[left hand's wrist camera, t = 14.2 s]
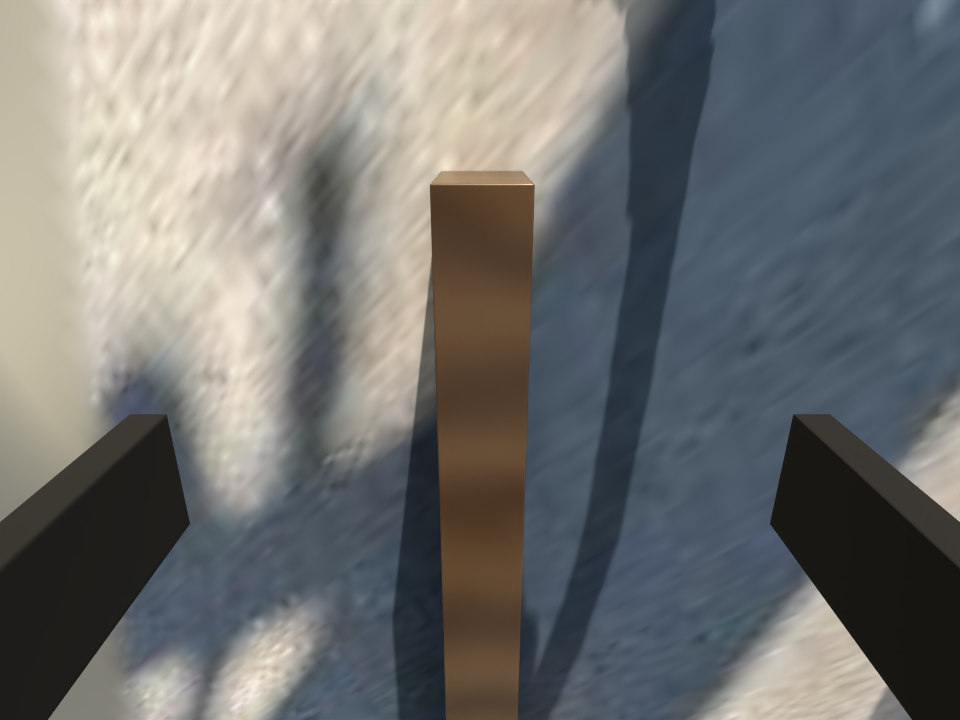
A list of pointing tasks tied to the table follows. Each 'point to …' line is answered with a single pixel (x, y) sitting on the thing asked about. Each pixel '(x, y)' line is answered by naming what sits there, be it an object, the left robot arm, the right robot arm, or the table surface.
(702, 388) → the table surface
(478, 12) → the table surface
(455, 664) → the bar
